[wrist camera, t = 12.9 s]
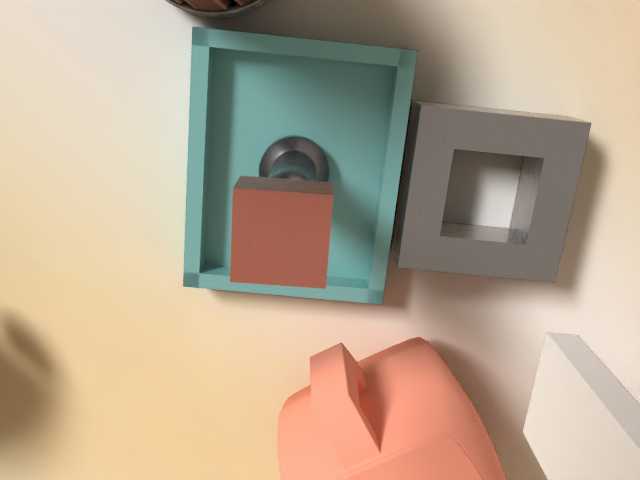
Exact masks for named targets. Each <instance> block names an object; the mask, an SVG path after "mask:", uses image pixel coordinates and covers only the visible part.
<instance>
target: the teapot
mask: <svg viewBox="0 0 640 480" xmlns="http://www.w3.org/2000/svg"><path fill="white" fill-rule="evenodd" d="M310 377H311V385H310V386H308V387H306V388H304V389H302V390H300V391H298V392H297V393H295V394H293V395H292V396H290V397H289V398H288V399H287V400H286V402H285V404H284V406H283V408H282V410H281V412H280V415H279V422H278V457H279V468H280V476H281V480H506V477H505V474H504V472H503V469H502V466H501V464H500V461H499V459H498V456H497V454H496V451H495V449H494V446H493V444H492V442H491V440H490V437H489V435H488V433H487V431H486V429H485V427H484V425H483V423H482V421H481V419H480V417H479V415H478V413H477V412H476V410H475V408H474V406H473V405H472V403H471V401H470V400H469V398H468V396H467V395H466V393H465V392H464V390H463V388H462V387H461V385H460V384H459V382H458V381H457V379H456V378H455V376H454V375H453V373H452V372H451V370H450V369H449V367H448V366H447V365H446V363H445V362H444V361H443V359H442V358H441V357H440V355H439V354H438V353H437V351H436V350H435V349H434V348H433V347H432V346H431V345H430V344H429V343H428V342H427V341H426V340H424V339H423V338H421V337H416V338H412V339H409V340H407V341H404V342H402V343H399V344H397V345H394V346H392V347H390V348H388V349H385V350H383V351H381V352H379V353H376V354H374V355H372V356H370V357H368V358H365V359H363V360H361V361H359V362H356V360H355V359H354V358H353V357H352V355H351V354H350V353H349V351H348V350H347V349H346V347H345V346H344V345H343V344H342V343H340V344H337V345H335V346H333V347H331V348H329V349H327V350H325V351H322V352H320V353H318V354H316V355H314V356H312V357H310Z"/></svg>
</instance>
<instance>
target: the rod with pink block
mask: <svg viewBox="0 0 640 480" xmlns="http://www.w3.org/2000/svg"><path fill="white" fill-rule="evenodd" d="M328 180H329V164H328V160H327V157H326V155H325V153H324V151H323V150H322V148H321V147H320V146H319V145H318V144H317V143H316V142H314V141H313V140H311V139H309V138H307V137H304V136H299V135H290V136H285V137H282V138H279V139H278V140H276V141H274V142H273V143H272V144H271V145H270V146H269V147H268V148H267V149H266V151H265V153H264V154H263V156H262V158H261V161H260V165H259V177H253V176H240V177H239V179H238V181H237V182H236V184H235V185H234V187H233V200H232V230H231V261H230V282H235V283H250V284H264V285H279V286H294V287H308V288H323V289H326V280H327V268H328V256H329V244H330V232H331V219H332V207H333V185H332V182H328Z"/></svg>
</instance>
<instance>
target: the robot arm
mask: <svg viewBox="0 0 640 480" xmlns="http://www.w3.org/2000/svg"><path fill="white" fill-rule="evenodd" d="M523 434H524V436H525V437H526V439H527V441H528V443H529V445H530V447H531V449H532V451H533V453H534V455H535V456H536V458H537V460H538V462H539V464H540V466H541V468H542V470H543V472H544V474H545V476H546V477H547V479H548V480H640V404H639V402H638V401H637V400H636V399H635V398H634V397H633V396H632V395H631V393H630V392H629V391H628V390H627V389H626V388H625V387H624V386H623V384H622V383H621V382H620V381H619V380H618V379H617V378H616V377H615V376H614V374H613V373H612V372H611V371H610V370H609V369H608V368H607V367H606V365H605V364H604V363H603V362H602V361H601V360H600V359H599V358H598V357H597V355H596V354H595V353H594V352H593V351H592V350H591V349H590V348H589V346H588V345H587V344H586V343H585V342H584V341H583V340H582V339H581V337H580V336H579V335H572V334H561V333H551V332H546V336H545V340H544V345H543V349H542V353H541V357H540V361H539V366H538V370H537V374H536V378H535V382H534V387H533V391H532V395H531V399H530V403H529V408H528V412H527V416H526V420H525V424H524V429H523Z"/></svg>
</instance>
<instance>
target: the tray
mask: <svg viewBox="0 0 640 480" xmlns="http://www.w3.org/2000/svg"><path fill="white" fill-rule="evenodd" d="M417 52H418V50H409V49H400V48H390V47H381V46H371V45H362V44H352V43H342V42H333V41H323V40H314V39H304V38H295V37H285V36H276V35H266V34H257V33H247V32H238V31H228V30H219V29H209V28H200V27H192V55H191V83H190V110H189V138H188V166H187V194H186V222H185V250H184V278H183V286H185V287H196V288H206V289H217V290H228V291H239V292H250V293H261V294H272V295H283V296H293V297H304V298H315V299H326V300H337V301H348V302H359V303H369V304H380V305H382V301H383V294H384V286H385V279H386V272H387V265H388V258H389V251H390V244H391V237H392V230H393V223H394V215H395V208H396V201H397V194H398V187H399V180H400V173H401V166H402V159H403V152H404V144H405V137H406V130H407V123H408V116H409V109H410V102H411V95H412V88H413V81H414V74H415V66H416V59H417ZM290 135H299V136H304V137H307V138H309V139H311V140H313V141H314V142H316V143H317V144H318V145H319V146H320V147H321V148H322V150H323V151H324V153H325V155H326V157H327V160H328V164H329V180H328V182H332V185H333V207H332V219H331V232H330V244H329V256H328V268H327V280H326V289H323V288H308V287H294V286H279V285H264V284H250V283H235V282H230V261H231V230H232V200H233V187H234V185H235V184H236V182H237V181H238V179H239V177H240V176H253V177H259V165H260V161H261V158H262V156H263V154H264V153H265V151H266V149H267V148H268V147H269V146H270V145H271V144H272V143H273V142H274V141H276V140H278V139H279V138H282V137H285V136H290Z"/></svg>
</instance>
